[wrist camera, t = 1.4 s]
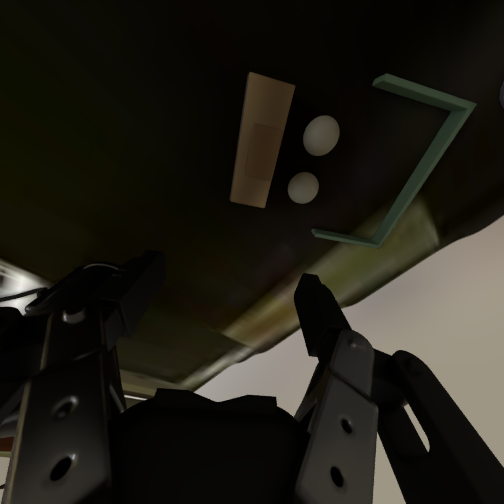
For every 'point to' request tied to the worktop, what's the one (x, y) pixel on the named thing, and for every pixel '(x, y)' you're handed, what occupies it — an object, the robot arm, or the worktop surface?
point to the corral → (431, 157)
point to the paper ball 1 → (303, 187)
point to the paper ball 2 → (321, 135)
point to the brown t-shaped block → (259, 138)
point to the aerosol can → (502, 95)
